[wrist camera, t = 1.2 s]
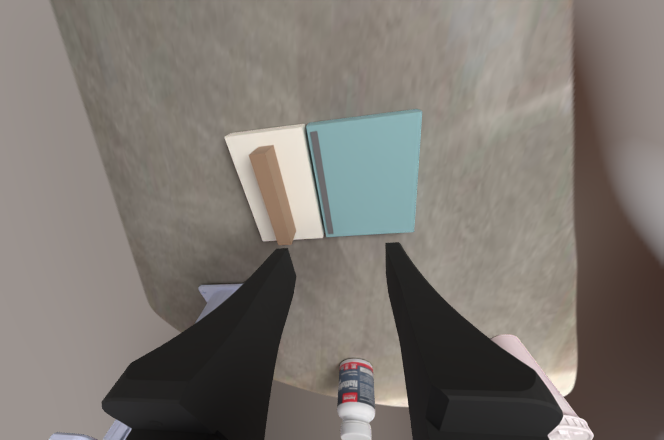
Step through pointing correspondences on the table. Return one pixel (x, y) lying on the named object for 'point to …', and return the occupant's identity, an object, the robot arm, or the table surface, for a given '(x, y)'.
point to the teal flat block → (367, 172)
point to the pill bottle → (356, 399)
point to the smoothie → (572, 431)
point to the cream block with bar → (278, 182)
